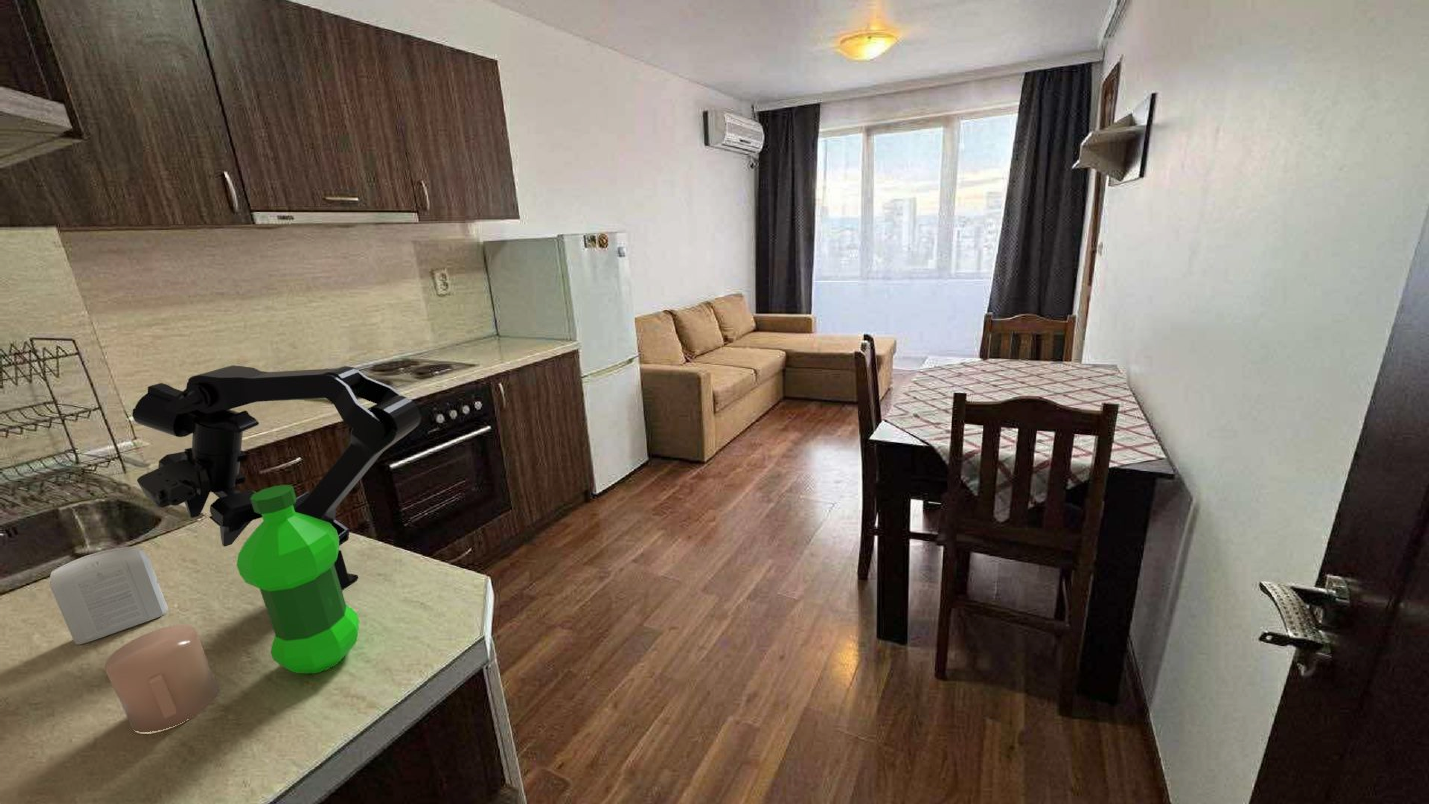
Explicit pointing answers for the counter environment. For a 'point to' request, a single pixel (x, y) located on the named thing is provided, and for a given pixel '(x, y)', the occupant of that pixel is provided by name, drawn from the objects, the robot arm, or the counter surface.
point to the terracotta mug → (162, 678)
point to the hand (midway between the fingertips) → (210, 530)
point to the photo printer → (107, 593)
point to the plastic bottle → (298, 583)
